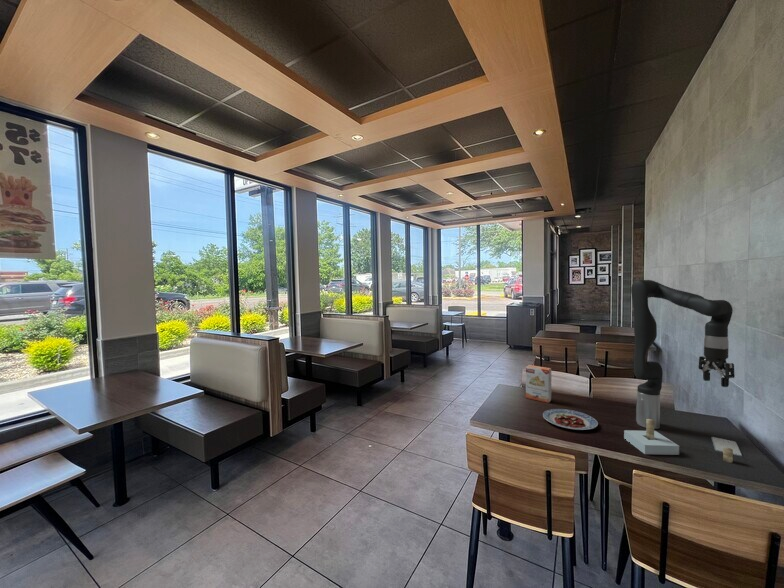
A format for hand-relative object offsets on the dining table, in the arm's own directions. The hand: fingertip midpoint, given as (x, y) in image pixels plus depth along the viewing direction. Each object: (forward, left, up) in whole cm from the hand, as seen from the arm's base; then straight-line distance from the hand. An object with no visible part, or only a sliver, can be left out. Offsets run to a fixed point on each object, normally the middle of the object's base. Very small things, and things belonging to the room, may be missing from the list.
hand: (715, 383), depth 141 cm
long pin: (-4, -24, -30) cm, 39 cm away
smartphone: (-5, +9, -31) cm, 33 cm away
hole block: (-4, -24, -30) cm, 39 cm away
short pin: (+7, -1, -30) cm, 31 cm away
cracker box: (-62, -52, -30) cm, 86 cm away
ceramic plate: (-29, -48, -31) cm, 64 cm away
